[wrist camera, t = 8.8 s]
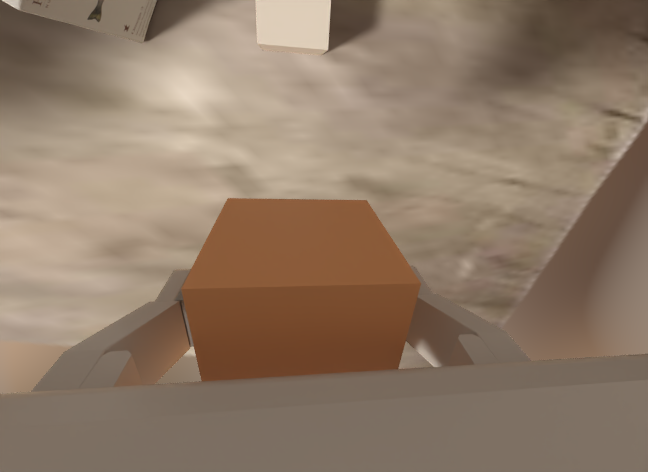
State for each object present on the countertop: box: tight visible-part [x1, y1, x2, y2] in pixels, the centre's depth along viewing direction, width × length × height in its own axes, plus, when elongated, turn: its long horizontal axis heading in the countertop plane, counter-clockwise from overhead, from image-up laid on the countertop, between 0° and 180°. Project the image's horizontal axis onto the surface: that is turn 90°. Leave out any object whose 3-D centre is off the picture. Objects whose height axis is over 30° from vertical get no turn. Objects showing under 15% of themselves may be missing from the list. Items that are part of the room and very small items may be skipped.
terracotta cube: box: [181, 198, 421, 381], centre depth 9 cm, size 5×5×5 cm
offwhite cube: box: [256, 0, 331, 55], centre depth 21 cm, size 5×5×5 cm
